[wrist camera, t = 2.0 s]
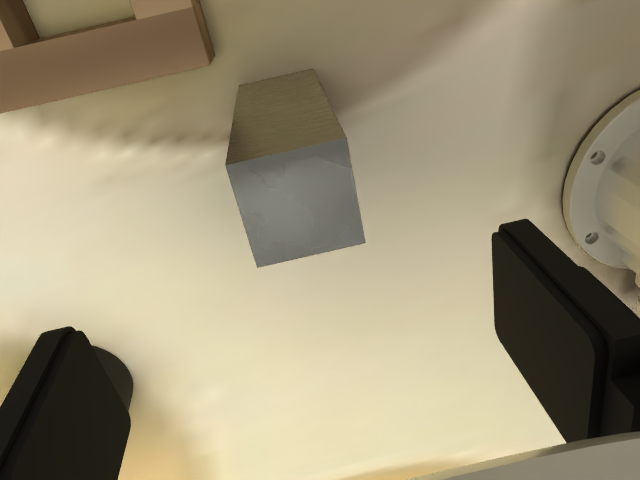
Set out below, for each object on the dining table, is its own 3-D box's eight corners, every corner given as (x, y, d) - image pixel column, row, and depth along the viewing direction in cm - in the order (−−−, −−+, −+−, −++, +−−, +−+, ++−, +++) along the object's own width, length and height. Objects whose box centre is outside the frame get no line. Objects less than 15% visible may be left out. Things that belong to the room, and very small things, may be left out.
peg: (326, 140, 29) (365, 243, 18) (257, 156, 29) (257, 267, 18) (312, 68, 27) (346, 137, 16) (238, 85, 27) (225, 165, 16)
